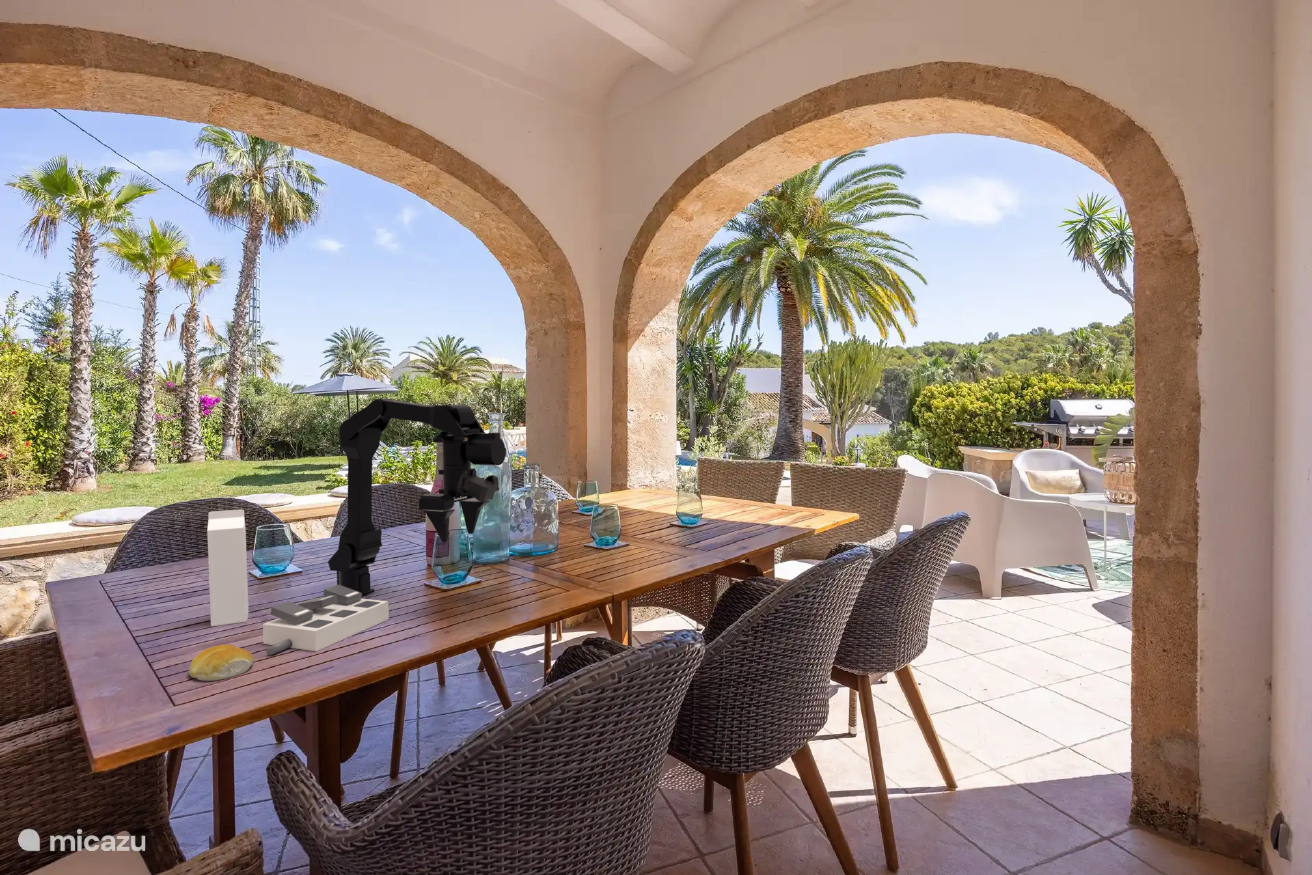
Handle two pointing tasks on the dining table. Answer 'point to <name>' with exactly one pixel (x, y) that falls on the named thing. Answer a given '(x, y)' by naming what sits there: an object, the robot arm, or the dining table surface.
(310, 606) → the rocker middle
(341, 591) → the rocker
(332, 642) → the power strip
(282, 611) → the rocker
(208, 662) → the bread roll
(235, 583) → the milk
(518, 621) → the dining table surface
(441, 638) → the dining table surface
